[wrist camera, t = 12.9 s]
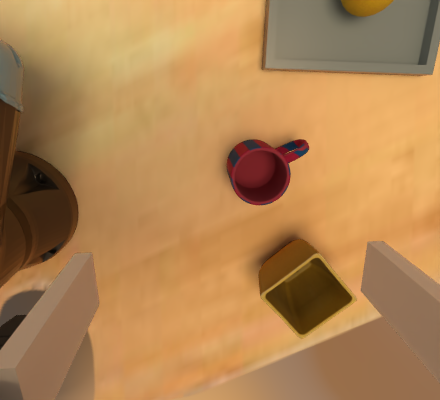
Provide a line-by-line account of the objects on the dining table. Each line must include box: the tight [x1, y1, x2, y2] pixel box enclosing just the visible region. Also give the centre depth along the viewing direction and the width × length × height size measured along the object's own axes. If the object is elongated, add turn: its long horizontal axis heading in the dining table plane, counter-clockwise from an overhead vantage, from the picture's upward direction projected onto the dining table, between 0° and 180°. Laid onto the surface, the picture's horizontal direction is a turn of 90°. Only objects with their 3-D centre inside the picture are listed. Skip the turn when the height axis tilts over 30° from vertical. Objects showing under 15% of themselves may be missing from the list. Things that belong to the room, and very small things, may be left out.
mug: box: [227, 139, 309, 205], centre depth 39 cm, size 7×10×7 cm
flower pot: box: [259, 239, 357, 339], centre depth 43 cm, size 9×9×9 cm
